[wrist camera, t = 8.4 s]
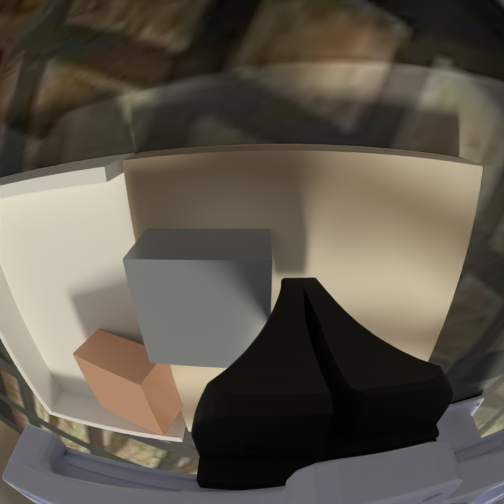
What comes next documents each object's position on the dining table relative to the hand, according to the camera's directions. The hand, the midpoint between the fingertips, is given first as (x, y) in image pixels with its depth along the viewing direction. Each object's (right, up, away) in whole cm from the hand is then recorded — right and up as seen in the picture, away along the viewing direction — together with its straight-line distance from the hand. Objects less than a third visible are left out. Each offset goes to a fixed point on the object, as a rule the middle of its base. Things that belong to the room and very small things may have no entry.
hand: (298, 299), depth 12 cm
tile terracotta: (-9, -5, +5) cm, 11 cm away
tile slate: (-4, 0, +1) cm, 4 cm away
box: (-13, -2, +5) cm, 14 cm away
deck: (+1, -2, +4) cm, 5 cm away
